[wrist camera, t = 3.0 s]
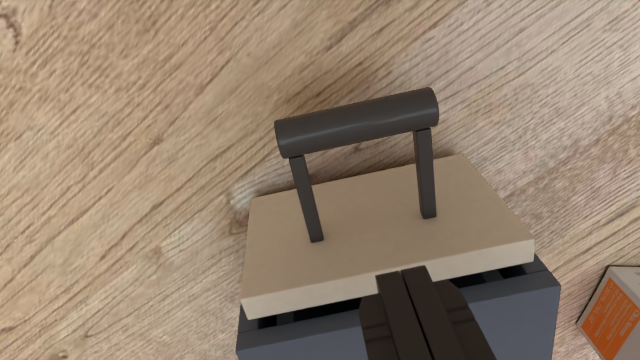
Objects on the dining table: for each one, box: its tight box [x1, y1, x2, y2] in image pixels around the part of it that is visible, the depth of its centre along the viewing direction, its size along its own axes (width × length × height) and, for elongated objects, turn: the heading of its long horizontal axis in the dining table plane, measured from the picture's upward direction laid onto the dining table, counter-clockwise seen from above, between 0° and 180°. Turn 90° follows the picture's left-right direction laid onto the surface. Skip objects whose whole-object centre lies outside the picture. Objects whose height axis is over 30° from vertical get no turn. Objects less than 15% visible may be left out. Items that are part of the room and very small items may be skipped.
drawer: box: [240, 87, 535, 326], centre depth 21 cm, size 19×12×7 cm, turn 11°
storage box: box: [236, 253, 561, 360], centre depth 24 cm, size 15×13×9 cm
